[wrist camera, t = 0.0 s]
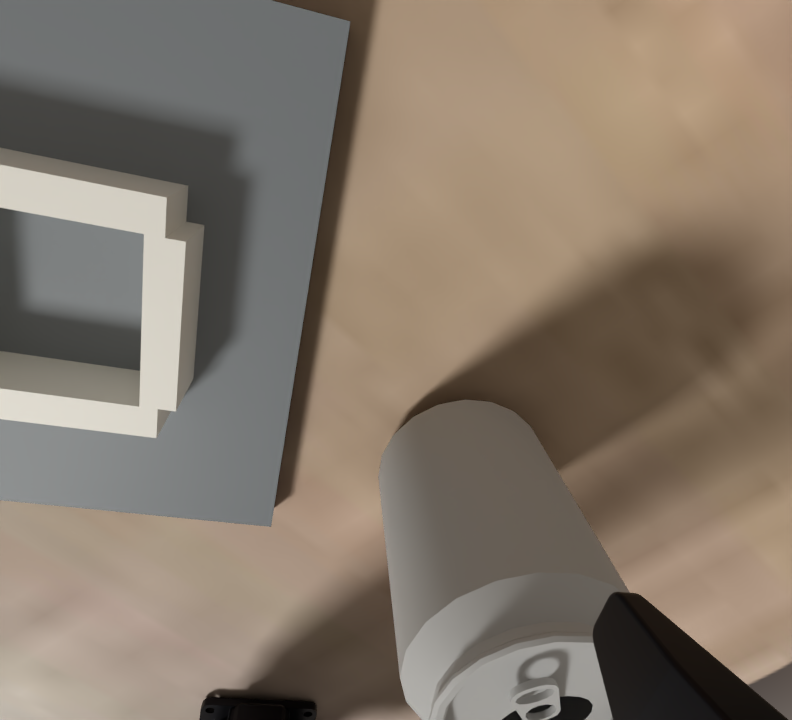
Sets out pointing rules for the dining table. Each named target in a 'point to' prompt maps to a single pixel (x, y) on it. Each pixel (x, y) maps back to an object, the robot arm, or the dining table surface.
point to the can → (490, 571)
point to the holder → (157, 247)
